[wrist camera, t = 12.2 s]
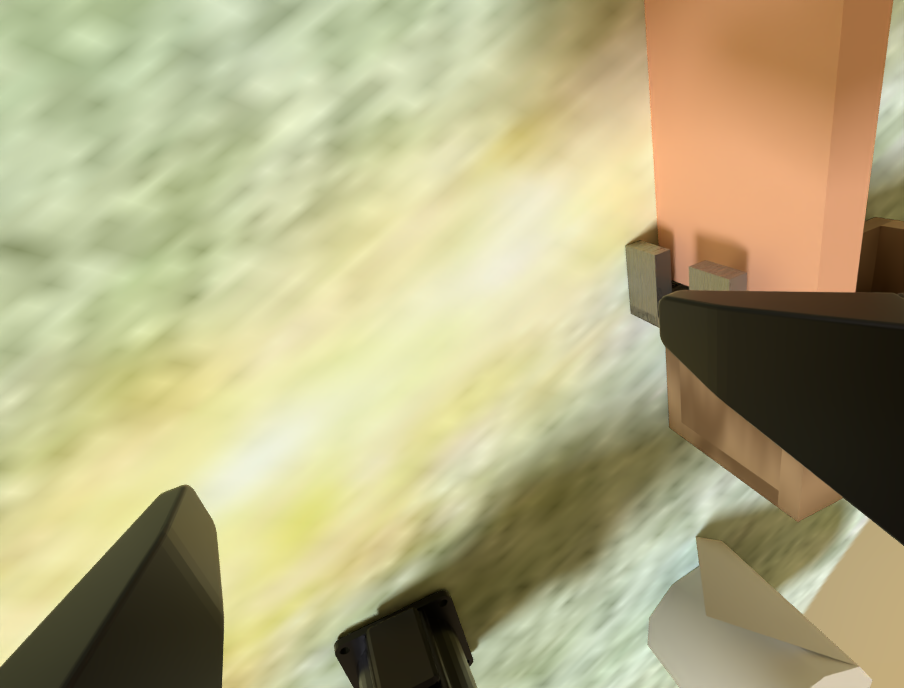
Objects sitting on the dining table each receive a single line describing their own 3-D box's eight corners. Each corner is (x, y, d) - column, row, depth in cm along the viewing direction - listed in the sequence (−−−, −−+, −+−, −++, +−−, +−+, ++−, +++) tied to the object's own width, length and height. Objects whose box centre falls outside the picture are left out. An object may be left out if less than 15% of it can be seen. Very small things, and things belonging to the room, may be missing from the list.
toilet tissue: (696, 514, 33) (822, 627, 26) (767, 587, 40) (885, 693, 32) (597, 612, 34) (694, 751, 26) (684, 668, 40) (781, 792, 33)
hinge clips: (710, 281, 26) (823, 320, 21) (631, 313, 25) (728, 362, 20) (710, 214, 25) (832, 238, 19) (625, 245, 24) (729, 279, 18)
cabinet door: (699, 259, 26) (865, 309, 19) (659, 275, 25) (813, 332, 18) (693, -28, 20) (924, -109, 13) (642, -14, 20) (852, -91, 13)
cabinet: (857, 342, 32) (1023, 402, 25) (669, 427, 29) (797, 521, 22) (875, 217, 28) (1076, 246, 21) (663, 300, 26) (814, 365, 19)
